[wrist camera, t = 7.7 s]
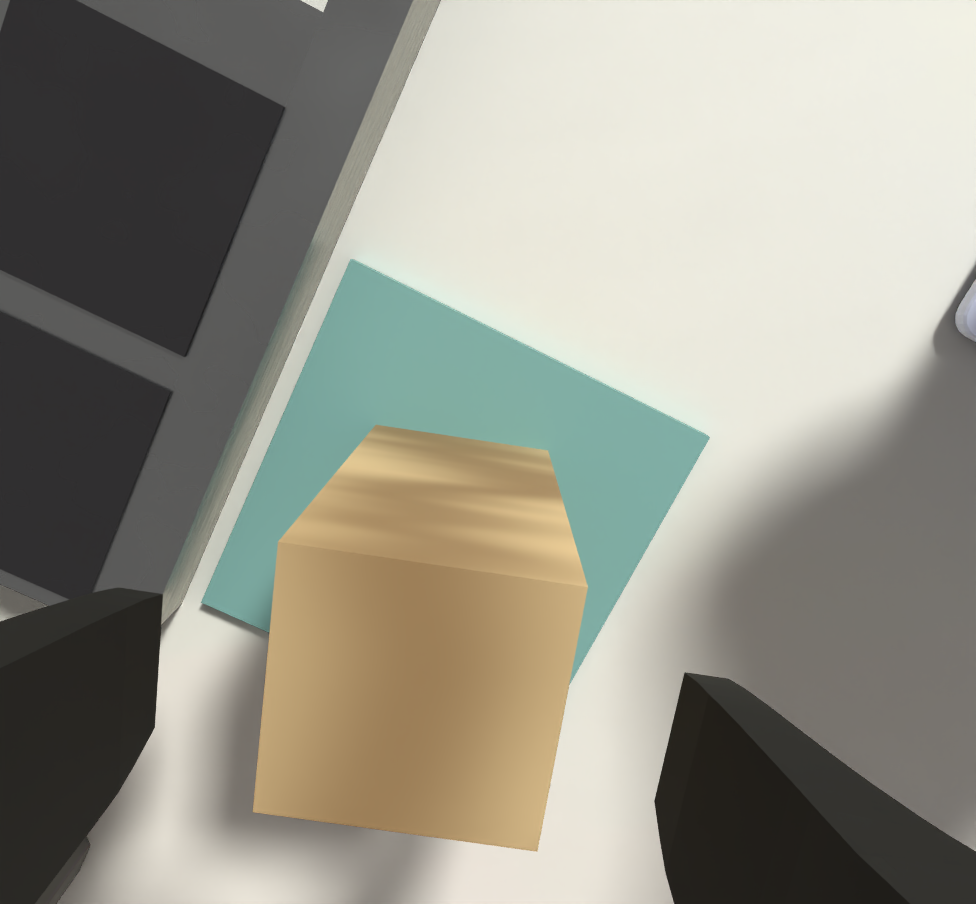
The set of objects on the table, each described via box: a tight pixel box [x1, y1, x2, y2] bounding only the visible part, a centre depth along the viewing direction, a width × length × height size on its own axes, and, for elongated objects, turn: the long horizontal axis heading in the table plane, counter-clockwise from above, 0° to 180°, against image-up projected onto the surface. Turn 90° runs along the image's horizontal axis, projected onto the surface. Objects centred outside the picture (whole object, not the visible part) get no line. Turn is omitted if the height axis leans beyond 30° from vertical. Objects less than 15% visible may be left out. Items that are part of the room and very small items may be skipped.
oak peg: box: [253, 425, 588, 851], centre depth 14 cm, size 4×4×8 cm
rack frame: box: [0, 0, 440, 625], centre depth 15 cm, size 8×24×2 cm, turn 154°
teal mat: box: [201, 259, 710, 685], centre depth 18 cm, size 9×9×1 cm
